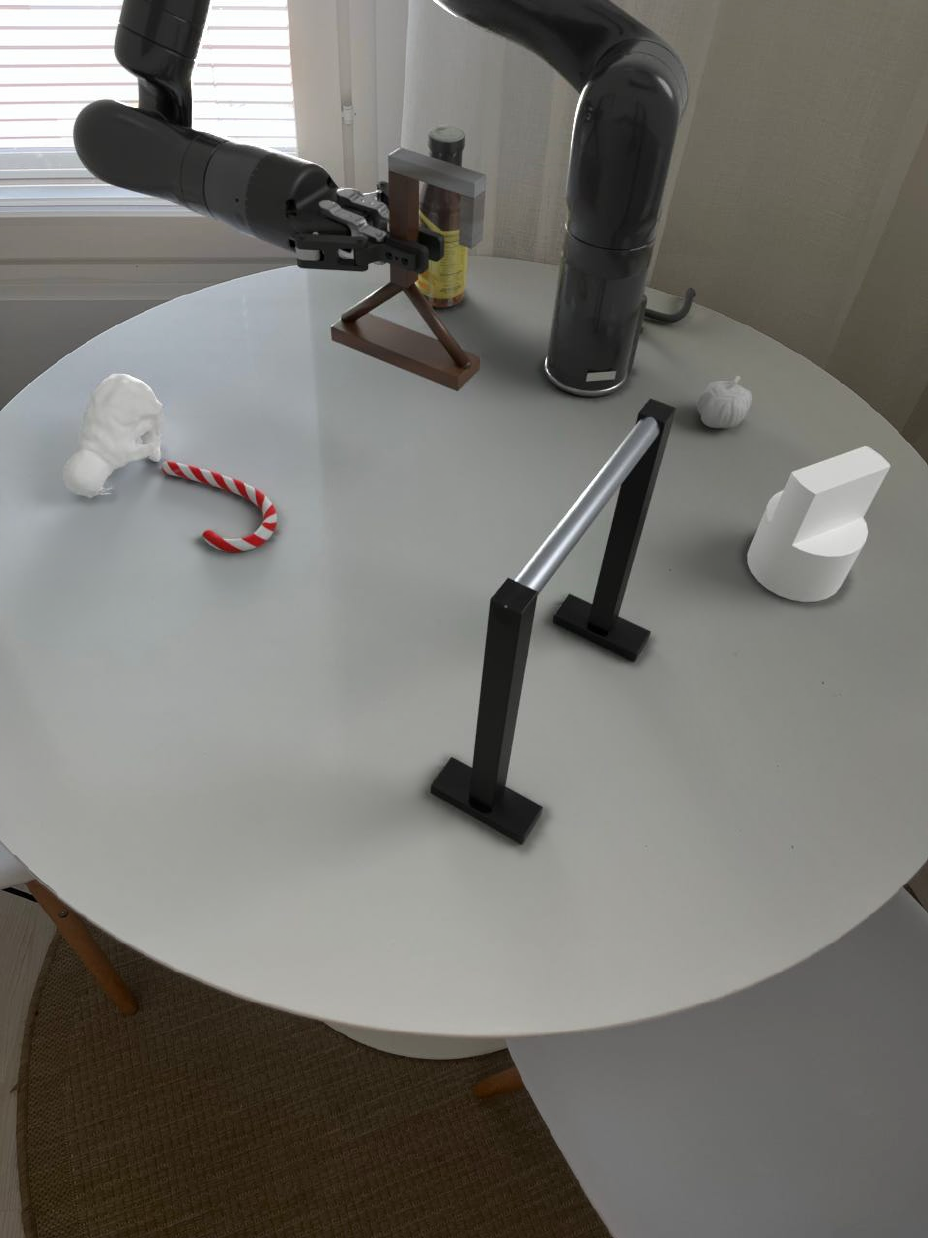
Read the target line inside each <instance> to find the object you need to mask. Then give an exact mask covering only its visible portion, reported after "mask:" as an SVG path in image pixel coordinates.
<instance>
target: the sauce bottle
mask: <svg viewBox="0 0 928 1238" xmlns="http://www.w3.org/2000/svg"><path fill="white" fill-rule="evenodd" d="M426 142H427V147H428V156H429V157H432V158H435V159H439V160H442V161H445V162H448V163H451V164H454V165H457V166H461V167H463V153H464V149H465V148H466V147H465V146H466V134H465V132H464V130H463V129H462V128H461V127H457V126H455V125H451V124H440V125H436V126H433V127H432V128H431V129H429V130H428V133H427V141H426ZM460 204H461V194H458V193H455V192H452V191H449V190H446V189H443V188H440V187H437V186H434V185H431V184H428V183H425V182H422V185H421V187H420V189H419V226H420V227H423V228H426V229H429V230H432V231H435V232H438V233H440V234H442V235H443V237H444V240H445V243H444V257H443V258H442V259H441V260H439V261H438V262H434V261H432V260H429V268H428V270H427V271H425V272H424V273H423V274H419V277H418V280H417V281H416V282H415V284H416V286H417V287H418V289H419V290H420V291H421V293H422V294H423V296H424V297H425V298H426V300H427V301H428V303H429V304H430V305H431V307H432V308H439V309H441V308H450V307H454V306H456V305H458V304H460V303H461V302H462V300H463V297H464V295H465V290H466V283H467V268H468V267H467V265H468V253H469V252H468V251H469V248H468V247H465V246H462V245H459V227H460Z"/></svg>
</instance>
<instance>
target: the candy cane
mask: <svg viewBox="0 0 928 1238" xmlns="http://www.w3.org/2000/svg"><path fill="white" fill-rule="evenodd" d="M161 472H162V473H163V474H166V475H169V476H174V477H178V478H182V479H186V480H191V481H195V482H198V483H202V484H205V485H208V486H213V487H216V488H219V489H222V490H224V491H227V492H230V493H233V494H236V495H238V496H240V497H243V498H244V499H247V500H248V501H249V502H251V503H252V504H254V505H255V506H257V507H258V509H259V510H260V511H261V513H262V522H261V524H260V526H259V528H258V529H256V530H255V531H254V532H253V533H251V534H250V535H247V536H243V537H239V538H224V537H221V536H219V535H218V534H216V533H215V532H214V531H213V530H212V529H206V530H204V531H203V533H202V536H201V537H202V539H203V540H204V541H205V542H206V543H207V544H208V545H209V546H211V547H212V548H214V549H216V550H218V551H222V552H225V553H226V552H228V553H240V552H247V551H251V550H254V549H257V548H258V547H260V546H261V545H264V544H265V542H266V541H268V540H269V539H270V538H271V536H272V535H273V533H274V532H275V530H276V527H277V522H278V516H277V515H278V513H277V510H276V508H275V505H274V504H273V502H272V501H271V500H270V499H269V497H268V496H267V495H265V494H264V493H262V492H261V491H260V490H259V489H257V488H255V487H253V486H252V485H250V484H248V483H246V482H243V481H241V480H238V479H235V478H233V477H230V476H228V475H227V476H226V475H223V474H220V473H217V472H214V471H212V470H207V469H203V468H200V467H197V466H192V465H188V464H184V463H180V462H174V461H168V460H166V461H163V462H162V464H161Z"/></svg>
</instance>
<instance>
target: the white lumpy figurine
mask: <svg viewBox="0 0 928 1238" xmlns="http://www.w3.org/2000/svg"><path fill="white" fill-rule="evenodd" d="M89 397H90V398H89V401H88V404H87V406H86V411H85V412H84V414H83V417H82V423H81V427H80V429H79V431H78V432H77V437H76V439H77V451H75V452H74V453H73V454H72V456H71V457H70V458H69V459H68V460H67V462H66V463H65V465H64V467H63V469H62V479H63V482H64V483H65V485H66V488H67V489H68V490H69V491H71V492H72V493H73V494H75V495H77V496H83V497H86V498H88V499H92V498H93V497H97V496H104V495H112V494H113V493H112V492H109V491H111V490H112V489H114V487H113V486H110V487H108V488H107V487H105V483H106V481H107V479H108V478H109V477H110V476H112V474H113V472H114V471H116V470H117V469H121V468H124V467H125V466H127V464H129V463H133V462H138V461H140V460H143V459H145V458H148V459H149V460H151V461H152V462H154V463H159V462H160V460H161V458H162V452H161V442H162V432H163V431H162V427H163V425H164V423H165V421H164V418H165V417H164V404H163V403H161V402H160V400H158V399H157V397H156V394H155V393H154V391H153V390H152V388H151V387H150V386H149V385H148V384H146V382H144V381H143V380H140V379H139V378H137V377H133V376H132V375H129V374H126V373H112V374H110V375H109V376H108V377H106V378H105V379H102V380H101V382H100V383H99V384H98V385H97V387H96V388H95V389H94V390H92V392H91V394H90V396H89ZM138 438H140V440H141V442H142V443H139V442H137V439H138Z"/></svg>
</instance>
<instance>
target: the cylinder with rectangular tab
mask: <svg viewBox="0 0 928 1238" xmlns="http://www.w3.org/2000/svg"><path fill="white" fill-rule="evenodd" d="M890 469H891V465H890V463H889V462H888V461H887V460H886V459H885V457H883V456H882V455H881V454H880V453H879V452H877V451H875V450H874V449H873V448H871V447H870V446H867V445H864V446H861V447H858V448H855V449H853V450H850V451H847V452H844V453H841V454H839V455H835V456H833V457H830V458H827V459H825V460H821V461H819V462H816V463H813V464H810V465H808V466H805V467H802V468H798V469H796V470H794V471H791V473H790V475H789V477H788V479H787V482H786V484H785V487H784V489H782V490H780V491H778V492H776V493H775V494H774V495H773V496H772V497H771V498H770V499H769V500H768V503H767V505H766V507H765V509H764V512H763V515H762V517H761V519H760V522H759V524H758V527H757V529H756V532H755V534H754V537H752V541H751V544H750V546H749V548H748V551H747V553H746V557H747V558H746V559H747V565H748V568H749V571H750V573H751V574H752V575H753V577H754V578H755V580H756V581H757V582H758V583H759V584H760V585H761V586H763V587H764V588H765V589H766V590H768V591H769V592H772V593H773V594H775V595H777V596H778V597H782V598H785V599H787V600H791V601H795V602H802V603H813V602H815V603H816V602H821V601H824V600H828V599H829V598H831V597H832V596H834V595H835V594H837V592H838V591H839V590H840V588H841V587H842V586H843V583H844V582H845V580H846V579H847V577H848V574H849V573H850V572H851V569H852V568H853V566H854V564H855V562H856V560H857V558H858V557H859V555H860V553H861V551H862V549H863V548H864V546H865V544H866V542H867V539H868V535H869V530H868V524H867V522H866V519H865V518H864V517H865V516H866V513H867V511H868V510H869V508H870V507H871V504H872V502H873V501H874V498H875V497H876V495H877V493H878V491H879V489H880V487H881V485H882V484H883V481H884V480H885V478H886V475H888V472H889V470H890Z"/></svg>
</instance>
